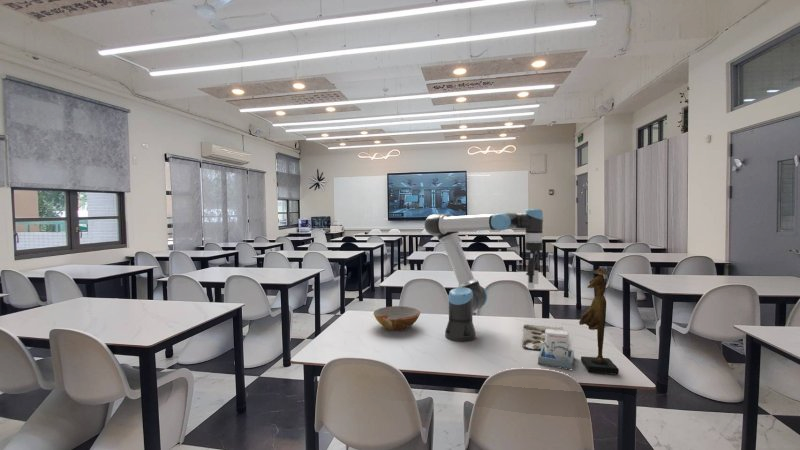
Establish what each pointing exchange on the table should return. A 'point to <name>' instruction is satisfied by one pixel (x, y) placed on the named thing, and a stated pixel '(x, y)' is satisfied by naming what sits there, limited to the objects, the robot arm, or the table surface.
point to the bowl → (396, 317)
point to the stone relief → (535, 335)
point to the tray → (556, 360)
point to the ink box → (556, 344)
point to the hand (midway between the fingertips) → (533, 286)
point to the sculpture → (598, 326)
